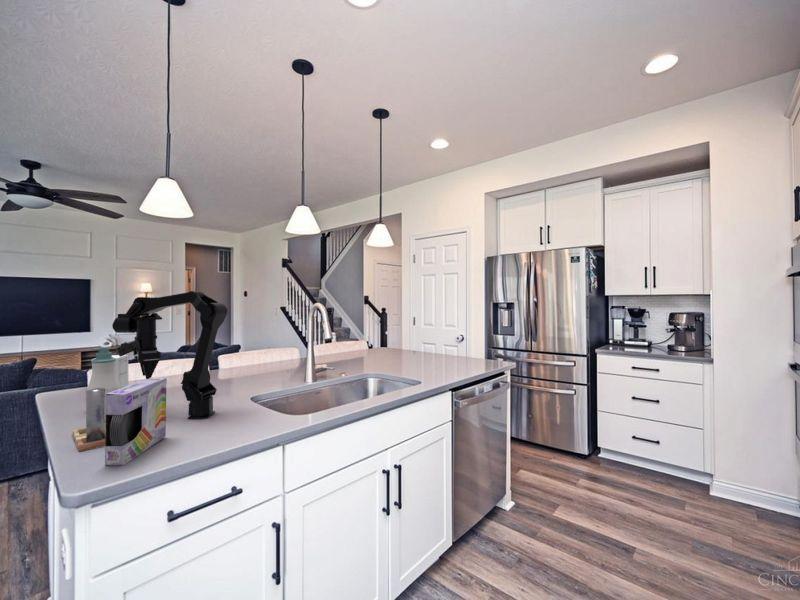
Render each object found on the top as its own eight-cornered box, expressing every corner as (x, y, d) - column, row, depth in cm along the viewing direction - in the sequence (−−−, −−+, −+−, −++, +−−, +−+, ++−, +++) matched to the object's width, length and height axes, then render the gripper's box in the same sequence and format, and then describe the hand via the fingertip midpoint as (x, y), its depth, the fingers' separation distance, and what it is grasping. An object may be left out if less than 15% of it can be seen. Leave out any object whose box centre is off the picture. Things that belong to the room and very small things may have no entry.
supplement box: (104, 394, 156) (104, 355, 156) (129, 392, 158) (129, 354, 158) (91, 400, 147) (91, 358, 147) (117, 398, 149) (117, 357, 149)
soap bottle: (80, 412, 130) (79, 348, 130) (110, 405, 139) (110, 345, 139) (96, 415, 126) (96, 350, 126) (126, 407, 135) (126, 346, 135)
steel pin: (108, 440, 103) (108, 387, 103) (99, 445, 99) (99, 391, 99) (92, 441, 102) (91, 388, 102) (82, 447, 98) (82, 391, 98)
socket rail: (114, 443, 100) (114, 438, 101) (78, 451, 95) (78, 446, 95) (104, 428, 113) (104, 423, 113) (72, 434, 108) (72, 429, 108)
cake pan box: (121, 467, 86) (121, 393, 86) (99, 468, 85) (99, 393, 86) (168, 437, 105) (168, 376, 105) (150, 438, 105) (150, 376, 105)
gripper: (115, 332, 129) (115, 376, 128) (119, 336, 114) (119, 385, 114) (153, 330, 136) (153, 372, 136) (161, 333, 122) (161, 380, 122)
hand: (146, 377), depth 127 cm, fingers open, 9 cm apart
